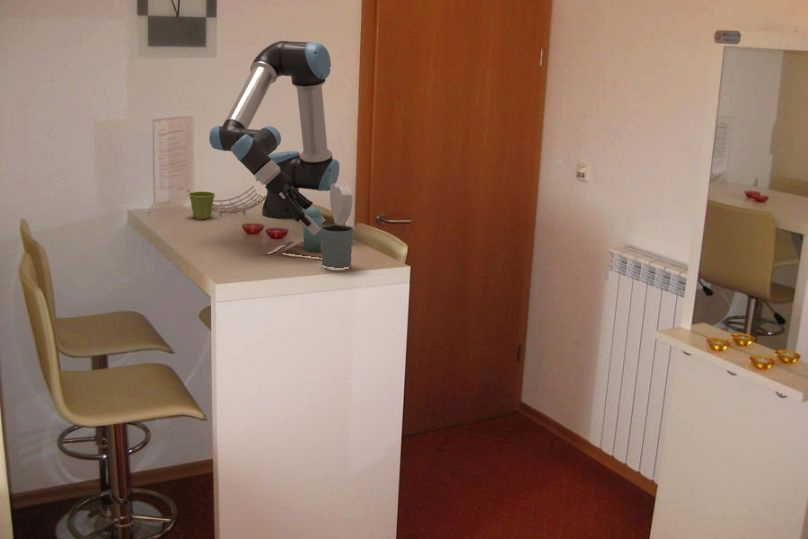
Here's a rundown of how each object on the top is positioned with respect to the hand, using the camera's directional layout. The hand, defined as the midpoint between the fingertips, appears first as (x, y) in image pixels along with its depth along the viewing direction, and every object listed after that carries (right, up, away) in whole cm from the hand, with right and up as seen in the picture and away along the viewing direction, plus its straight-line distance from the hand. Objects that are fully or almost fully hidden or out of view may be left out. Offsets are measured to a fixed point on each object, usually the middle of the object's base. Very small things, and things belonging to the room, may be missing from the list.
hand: (320, 227), depth 291 cm
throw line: (-13, -6, +5) cm, 15 cm away
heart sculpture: (+5, -3, +22) cm, 23 cm away
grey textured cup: (+6, -12, -13) cm, 19 cm away
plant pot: (-46, +5, +43) cm, 63 cm away
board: (-3, -8, +2) cm, 8 cm away
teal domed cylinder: (-3, -7, +2) cm, 8 cm away
